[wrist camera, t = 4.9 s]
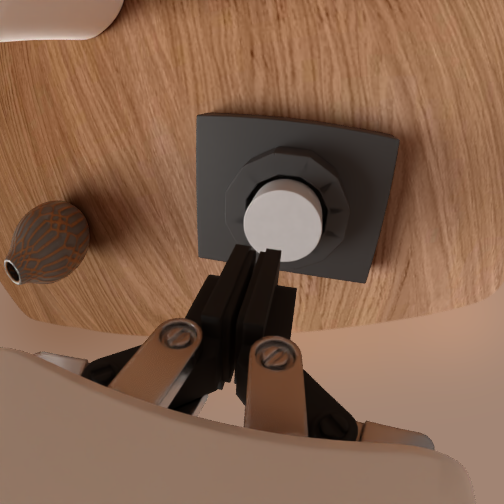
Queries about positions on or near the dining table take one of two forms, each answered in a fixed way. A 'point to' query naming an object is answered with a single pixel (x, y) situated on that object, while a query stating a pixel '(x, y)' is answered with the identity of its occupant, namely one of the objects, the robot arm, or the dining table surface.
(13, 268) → the vase
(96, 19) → the can
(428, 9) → the dining table surface
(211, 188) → the button base
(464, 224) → the dining table surface
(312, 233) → the white button cap
